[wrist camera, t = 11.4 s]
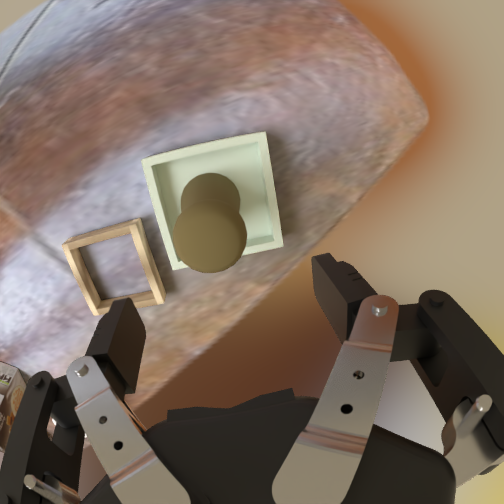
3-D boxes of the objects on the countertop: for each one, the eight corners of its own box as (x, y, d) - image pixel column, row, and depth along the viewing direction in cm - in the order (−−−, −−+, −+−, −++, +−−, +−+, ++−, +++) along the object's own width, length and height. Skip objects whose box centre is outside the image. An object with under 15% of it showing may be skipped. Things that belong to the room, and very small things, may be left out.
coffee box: (-5, 358, 34) (-36, 418, 20) (18, 367, 36) (-12, 432, 21) (10, 388, 38) (-14, 444, 23) (33, 397, 39) (10, 457, 25)
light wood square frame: (68, 238, 28) (61, 245, 26) (140, 217, 29) (135, 224, 27) (98, 306, 32) (93, 315, 31) (166, 293, 33) (164, 303, 31)
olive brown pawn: (195, 239, 30) (188, 298, 20) (170, 187, 27) (146, 224, 17) (249, 217, 29) (269, 266, 20) (227, 162, 27) (235, 184, 17)
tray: (146, 157, 26) (141, 159, 24) (261, 131, 27) (265, 131, 24) (175, 259, 31) (172, 270, 29) (278, 237, 32) (283, 246, 29)
